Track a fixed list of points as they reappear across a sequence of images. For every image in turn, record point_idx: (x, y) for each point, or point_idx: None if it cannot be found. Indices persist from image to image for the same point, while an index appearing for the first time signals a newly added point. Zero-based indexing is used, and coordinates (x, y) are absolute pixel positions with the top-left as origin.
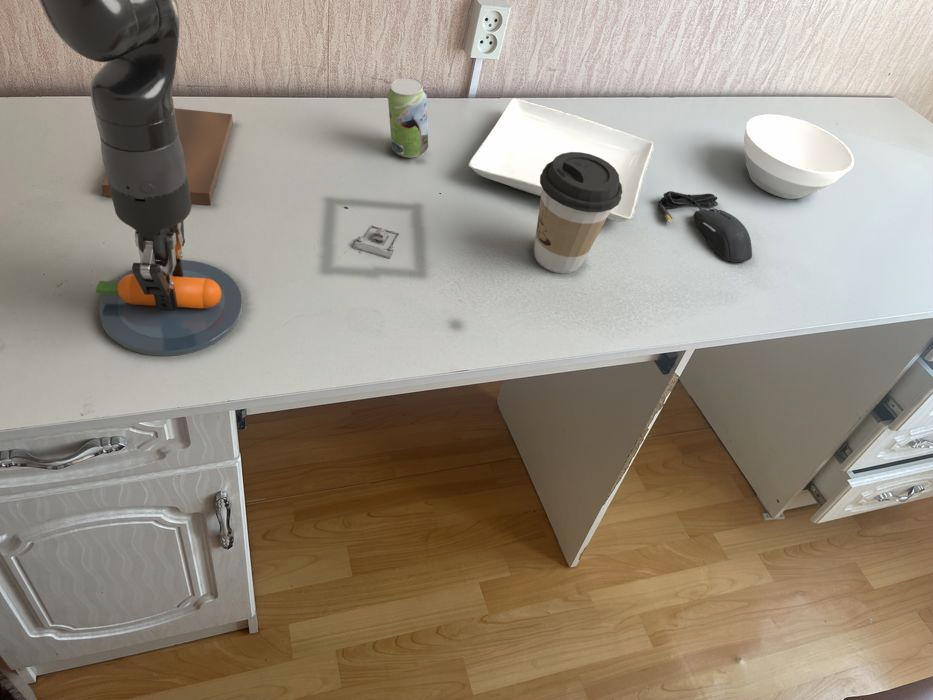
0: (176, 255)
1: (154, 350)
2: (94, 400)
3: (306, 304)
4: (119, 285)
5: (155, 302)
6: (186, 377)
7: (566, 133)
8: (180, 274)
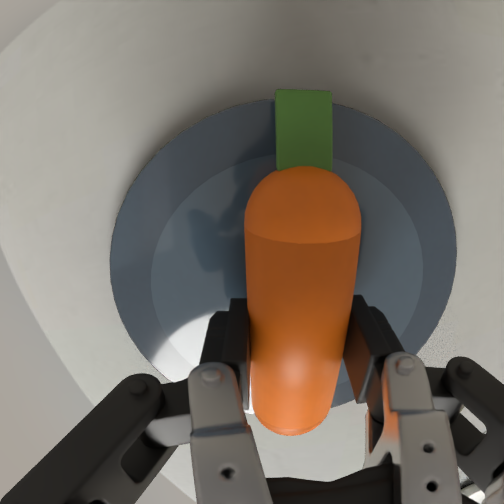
0: (367, 428)
1: (114, 293)
2: (5, 200)
3: (304, 458)
4: (285, 187)
5: (229, 310)
6: (91, 342)
7: (482, 494)
8: (346, 368)
